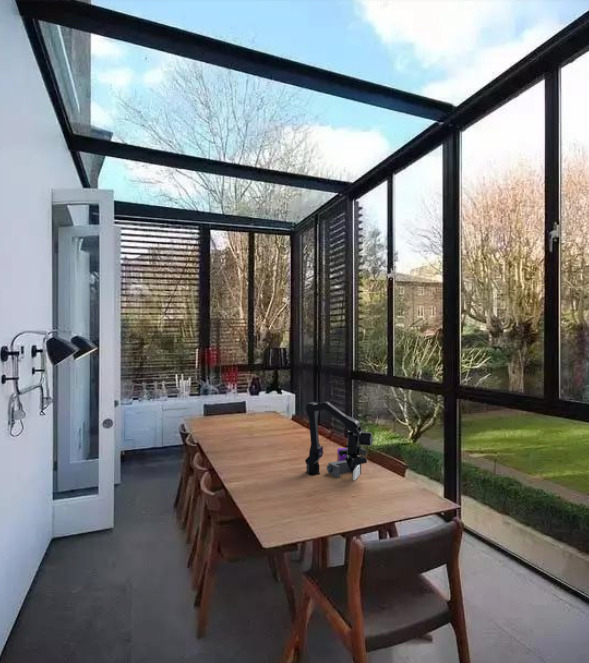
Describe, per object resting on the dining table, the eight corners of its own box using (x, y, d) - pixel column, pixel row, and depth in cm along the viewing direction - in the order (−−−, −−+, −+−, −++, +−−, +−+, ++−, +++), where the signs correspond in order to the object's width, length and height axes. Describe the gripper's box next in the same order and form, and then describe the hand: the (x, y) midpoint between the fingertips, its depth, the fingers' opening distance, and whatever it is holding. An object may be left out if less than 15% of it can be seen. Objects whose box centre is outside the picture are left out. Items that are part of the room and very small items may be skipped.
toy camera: (342, 470, 246) (342, 452, 246) (334, 463, 259) (334, 446, 259) (359, 468, 249) (359, 451, 249) (350, 462, 262) (350, 445, 262)
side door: (354, 480, 227) (354, 471, 227) (353, 480, 227) (353, 470, 227) (360, 474, 237) (360, 465, 237) (358, 473, 238) (358, 464, 238)
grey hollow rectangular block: (335, 478, 231) (335, 467, 231) (326, 473, 239) (326, 462, 239) (361, 473, 239) (361, 463, 239) (352, 469, 247) (352, 459, 247)
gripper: (375, 446, 226) (374, 475, 226) (355, 437, 243) (354, 465, 243) (358, 448, 221) (357, 478, 221) (338, 439, 237) (337, 467, 238)
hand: (352, 472), depth 231 cm, fingers closed
